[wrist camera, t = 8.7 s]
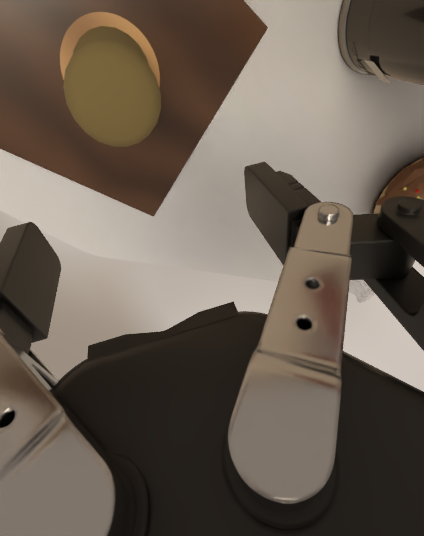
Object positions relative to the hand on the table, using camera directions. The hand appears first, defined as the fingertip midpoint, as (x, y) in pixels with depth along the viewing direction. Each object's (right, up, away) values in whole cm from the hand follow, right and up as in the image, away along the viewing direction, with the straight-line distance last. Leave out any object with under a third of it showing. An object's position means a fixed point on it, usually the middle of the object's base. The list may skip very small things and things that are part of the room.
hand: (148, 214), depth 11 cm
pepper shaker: (-6, +14, +12) cm, 19 cm away
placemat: (-6, +14, +12) cm, 19 cm away
